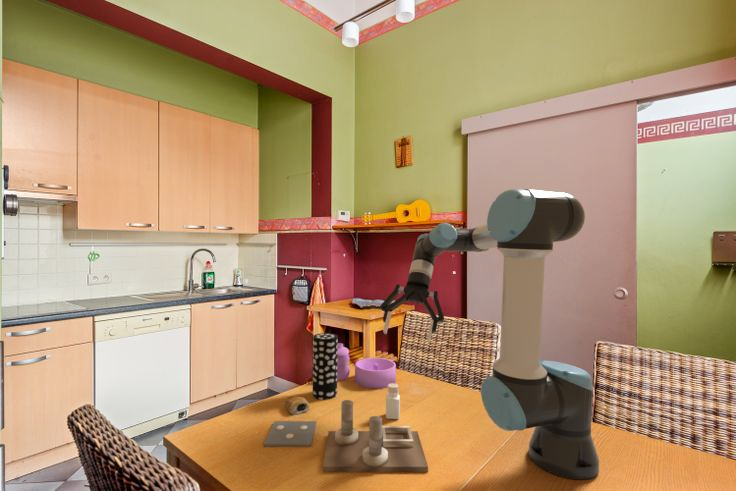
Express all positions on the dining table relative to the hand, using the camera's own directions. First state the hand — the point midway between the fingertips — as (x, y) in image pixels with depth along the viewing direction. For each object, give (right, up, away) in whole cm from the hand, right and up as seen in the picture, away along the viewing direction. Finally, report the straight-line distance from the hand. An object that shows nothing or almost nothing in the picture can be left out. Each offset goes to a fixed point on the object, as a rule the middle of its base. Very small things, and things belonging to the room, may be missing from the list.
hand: (406, 337), depth 115 cm
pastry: (-34, -23, +3) cm, 41 cm away
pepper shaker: (-4, -24, -2) cm, 24 cm away
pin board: (-10, -24, -21) cm, 33 cm away
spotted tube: (-26, -23, +14) cm, 38 cm away
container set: (-14, -23, +28) cm, 39 cm away
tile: (-32, -23, -13) cm, 42 cm away
